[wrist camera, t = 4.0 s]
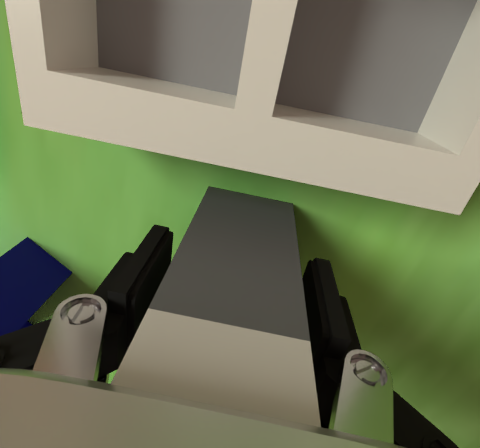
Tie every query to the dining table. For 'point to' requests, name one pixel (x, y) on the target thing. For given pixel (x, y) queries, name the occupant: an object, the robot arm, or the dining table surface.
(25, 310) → the blue notched block
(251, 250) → the plug
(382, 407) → the robot arm
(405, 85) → the socket strip
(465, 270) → the dining table surface
